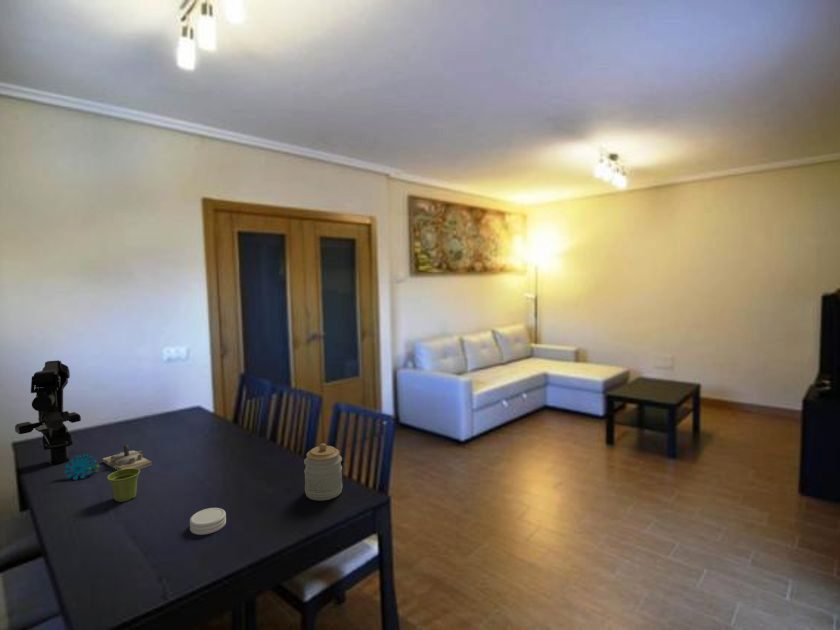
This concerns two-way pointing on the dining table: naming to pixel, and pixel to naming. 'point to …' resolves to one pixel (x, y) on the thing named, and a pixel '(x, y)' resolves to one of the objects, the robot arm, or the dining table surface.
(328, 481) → the jar
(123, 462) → the gear board
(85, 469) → the gear
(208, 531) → the white round flat block
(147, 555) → the dining table surface
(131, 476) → the plant pot
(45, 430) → the robot arm
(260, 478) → the dining table surface
